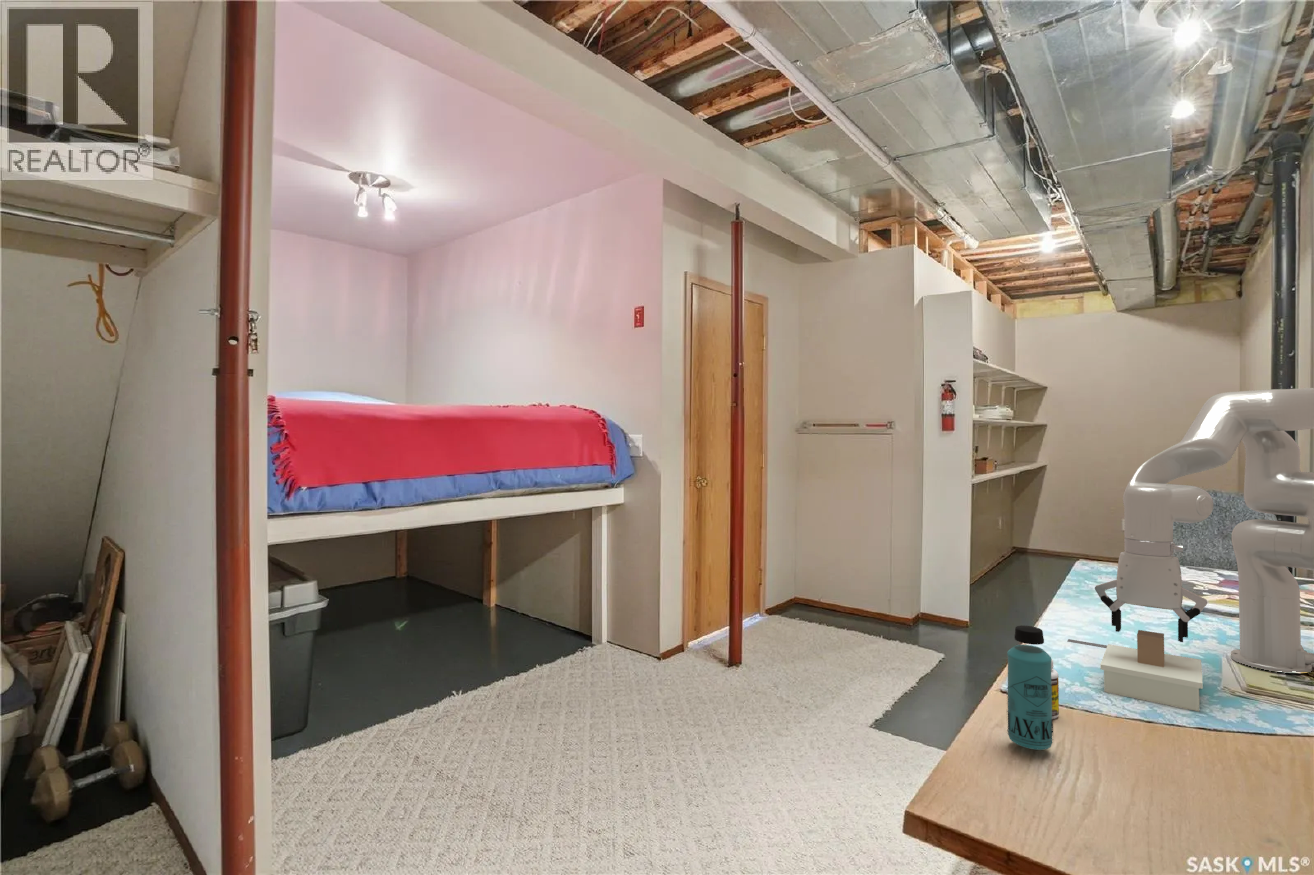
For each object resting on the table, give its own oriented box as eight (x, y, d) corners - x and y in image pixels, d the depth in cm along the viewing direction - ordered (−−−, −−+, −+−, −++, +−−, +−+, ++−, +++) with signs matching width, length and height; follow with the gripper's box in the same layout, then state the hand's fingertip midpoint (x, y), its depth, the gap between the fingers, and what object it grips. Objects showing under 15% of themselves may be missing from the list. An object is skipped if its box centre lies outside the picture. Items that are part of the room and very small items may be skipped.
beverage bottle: (998, 741, 103) (996, 622, 103) (1035, 738, 103) (1033, 620, 103) (1025, 761, 96) (1022, 634, 96) (1064, 758, 97) (1062, 632, 97)
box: (1198, 690, 122) (1198, 664, 122) (1199, 714, 111) (1198, 687, 111) (1111, 673, 131) (1110, 649, 131) (1104, 694, 120) (1103, 669, 120)
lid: (1201, 664, 122) (1200, 632, 122) (1202, 689, 110) (1201, 652, 110) (1108, 648, 131) (1107, 618, 131) (1100, 669, 120) (1099, 636, 120)
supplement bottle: (1050, 723, 109) (1049, 666, 109) (1017, 712, 113) (1016, 657, 113) (1065, 715, 112) (1063, 659, 112) (1032, 704, 116) (1031, 651, 117)
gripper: (1206, 551, 118) (1207, 640, 118) (1096, 541, 129) (1097, 622, 129) (1207, 556, 112) (1208, 649, 112) (1092, 546, 124) (1093, 630, 124)
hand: (1148, 635), depth 121 cm, fingers open, 9 cm apart
